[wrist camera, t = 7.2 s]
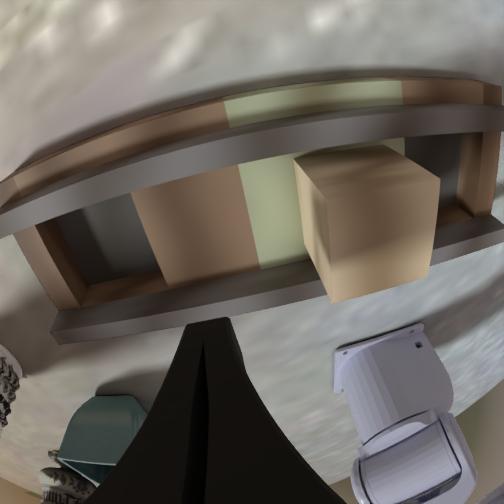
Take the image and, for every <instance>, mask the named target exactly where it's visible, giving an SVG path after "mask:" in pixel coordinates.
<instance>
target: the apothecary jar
mask: <svg viewBox="0 0 504 504" xmlns="http://www.w3.org/2000/svg"><path fill="white" fill-rule="evenodd" d="M58 453H59V451H52V452H48V456H49V457H50V458H51V459H52V460H54V462H55V463H57V464H58V465H60V466H61V468H52V467H49V468H44V469H42V470H40V471H39V473H38V479H39V481H40V483H41V484H42V485H43V490H42V498H41V504H82V503H83V502H84V501H85V500H86V499H87V498H88V497H89V496H90V495H91V494H92V493H93V492H94V490H95V489H96V488H97V487H96V486H95V485H94V484H93V483H92V482H91V481H89V480H88V479H87V478H85V477H83V476H82V475H81V474H80V473H78V472H77V471H75V470H74V469H72V468H71V467H69V466H67V465H66V464H64V463H63V462H61V461H60V460H59V459H57V456H58Z"/></svg>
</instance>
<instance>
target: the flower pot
mask: <svg viewBox="0 0 504 504" xmlns="http://www.w3.org/2000/svg"><path fill="white" fill-rule="evenodd" d="M147 415H148V414H147V413H146V412H145V411H144V409H143V408H142V407H141V406H140V404H139V403H138V402H137V401H136V399H135V398H134V397H133V396H130V395H124V396H94V397H92V398H91V399H89V400H88V401H86V402H85V403H84V404H83V405H82V406H81V407H80V408H79V409H78V410H77V411H76V412H75V414H74V415H73V416H72V418H71V420H70V422H69V424H68V427H67V430H66V432H65V435H64V438H63V441H62V444H61V447H60V450H59V453H58V456H57V459H59V460H60V461H61V462H63V463H64V464H66V465H67V466H69V467H71V468H72V469H74V470H75V471H77V472H78V473H80V474H82V475H83V476H85V477H87V478H88V479H90V480H91V481H93V482H95V483H97V484H99V485H100V484H101V482H102V481H103V480H104V479H105V477H106V476H107V475H108V474H109V472H110V471H111V470H112V469H113V467H114V466H115V465H116V464H117V462H118V461H119V460H120V458H121V457H122V455H123V454H124V452H125V451H126V449H127V448H128V446H129V445H130V443H131V442H132V440H133V439H134V437H135V436H136V434H137V432H138V431H139V429H140V427H141V426H142V424H143V422H144V420H145V418H146V417H147Z"/></svg>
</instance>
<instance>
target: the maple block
mask: <svg viewBox="0 0 504 504" xmlns="http://www.w3.org/2000/svg"><path fill="white" fill-rule="evenodd" d="M293 161H294V168H295V175H296V182H297V189H298V197H299V204H300V212H301V220H302V228H303V237H304V244H305V246H306V248H307V251H308V253H309V255H310V257H311V259H312V261H313V263H314V265H315V268H316V270H317V272H318V274H319V276H320V278H321V281H322V283H323V285H324V287H325V289H326V292H327V294H328V296H329V298H330V300H331V303H332V304H334V303H338V302H342V301H345V300H349V299H353V298H356V297H360V296H364V295H367V294H371V293H374V292H378V291H381V290H385V289H388V288H392V287H395V286H399V285H402V284H405V283H408V282H412V281H415V280H418V279H421V278H425V277H428V271H429V266H430V260H431V255H432V249H433V242H434V235H435V228H436V220H437V212H438V202H439V192H440V178H438V177H437V176H435V175H434V174H432V173H431V172H429V171H427V170H426V169H424V168H423V167H421V166H420V165H418V164H416V163H415V162H413V161H411V160H410V159H408V158H406V157H405V156H403V155H401V154H400V153H398V152H396V151H394V150H393V149H391V148H389V147H387V146H386V145H376V146H369V147H361V148H354V149H348V150H341V151H335V152H329V153H323V154H317V155H311V156H305V157H300V158H294V159H293Z"/></svg>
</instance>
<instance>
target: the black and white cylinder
mask: <svg viewBox="0 0 504 504" xmlns="http://www.w3.org/2000/svg"><path fill="white" fill-rule="evenodd" d="M22 376H23V375H22V368H21V366H20V364H19V363H18V361H17V359H16V358H15V357H14V356H13V355H12V354H11V353H10V352H9V351H8V350H7V349H6V348H5V347H4V346H2V345H1V344H0V437H1V433H2V430H3V427H5V426H6V425H7V424H8V422H7V420H6V416H7V415H8V414H10V413H11V409H10V404H11V403H12V402H13V401H15V399H16V395H15V392H16V390H18V389H19V387H20V385H19V380H20V379H21V378H22Z"/></svg>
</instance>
